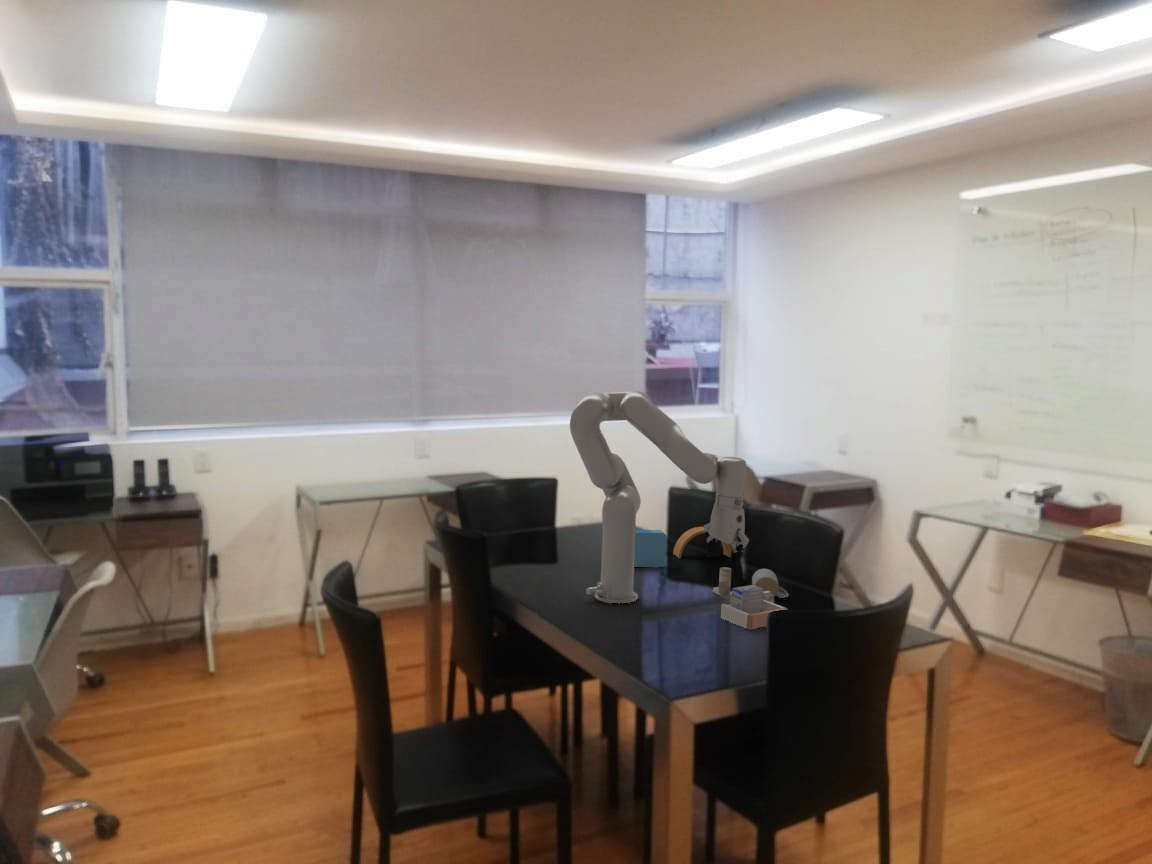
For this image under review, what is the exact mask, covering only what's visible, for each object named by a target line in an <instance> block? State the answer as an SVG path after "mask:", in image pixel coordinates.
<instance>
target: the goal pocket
mask: <svg viewBox="0 0 1152 864" xmlns="http://www.w3.org/2000/svg"><path fill="white" fill-rule="evenodd" d="M728 605H729V604H726V603H723V604H721V608H720V619H721V618H722V619H721V620H723V619H724V620H723V621H725V620H727V621H729V622H728V623H730V622H731V623H730V624H732V623H733V624H732V625H734V624H736V625H735V626H737V625H738V626H737V627H739V626H741V627H744V628H747V629H753V628H757V627H762V626H764V625H765V626H766V621H767V616H768V614H769V613H771V612H773V611H779V610H788V611H789V608H787V607H785V606H781V605H779V604H777V603H771V602H769V601H766V600H763V606H762V612H760V613H755V614H748V613H746V612H743V611H741V610H738V609H736V608H733V607H731V606H728ZM727 621H726V622H727ZM741 627H740V628H741ZM744 628H743V629H744Z"/></svg>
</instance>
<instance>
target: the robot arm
mask: <svg viewBox="0 0 1152 864" xmlns="http://www.w3.org/2000/svg"><path fill="white" fill-rule="evenodd" d="M569 421H570V422H569V430H570V434H571V437H572V440H573V442H574V445H575V447H576V449H577V451H578V453H579V456H580V459H581V461H582V463H583V465H584V467H585V469H586V472H587V474H588V476H589V479H590V481H591V482H592V484H593V485H594V486H595V487H596V488H599V489H601V490H602V491H603V494H604V496H605V499H604V500H603V504H602V509H601V510H602V511H601V518H602V519H601V521H602V537H601V538H602V539H601V566H600V568H601V569H600V581H597V582H596V583H597V584H596V585H595V586H592V587H591V586H589V587H586V589H585V593H586V595H594V598H595V599H596V600H597V601H600V602H602V603H606V604H612V603H618V604H617V605H624V604H623V603H628V604H631V603H630V602H633V603H635V602H637V601H638V600H639V594H638V593H637V592H635V591H634V579H635V578H634V576H635V568H634V561H635V535H636V530H637V527H636V524H637V523H636V521H637V514H638V511H639V510H640V507H641V502H642V501H641V496H640V493H639V491H638V489H637V486H636V484H635V482H634V480H633V478H632V476H631V474H630V471H629V469H628V467H627V465H626V463H625V462H624V460H623V459H622V458H621V456H619V455H618V454H616V453H613V452H612V451H611V448H610V447H609V444H608V442H607V440H606V438H605V436H604V434H603V432H602V430H601V426H600V425H601V423H603V422H615V421H616V422H617V421H618V422H620V421H622V422H623V421H627V422H628V423H629V424H630V425H631V426H632V427H634V428H635V429H636V430H637V431H638V432H639V433H641V435H643V436H644V437H645V438H647V439H648V440H649V441H650V442H651V443H652V444H653V445H655V447H656V448H658V449H659V451H660V452H662V454H664V455H665V456H666V457H667V458H668V459H669V460H670V461H671V462H672V463H673V464H674V465H675V466H676V467H677V468H678V469H680V471H682V472H683V473H684V474H685V475H687V477H689V478H690V479H691V480H693V481H695V482H696V483H697V484H702V485H705V484H709V483H712V482H713V481H714V480H717V481H716V482H717V483H716V492H715V499H714V500H715V502H714V504H713V506H712V507H713V508H712V509H711V510H712V511H711V515H710V519H709V521H710V522H709V523H706V524H704V525H703V527H704V530H705V533H704V536H705V538H706V543H707V549H706V557H707V558H711V557H712V558H713V557H714V558H715V557H716V556H717V551H718V541H720V542H721V541H722V542H725V543H728V544H730V547H731V550H732V552H731V557H730V560H729V561H730V562H729V566H731V567H737V566H740V565H741V558H742V557H741V556H742V552H744V550H745V549H746V548H747V546H748V544H749V542H750V539H749V538H748V537H747V535H746V534H745V530H746V525H745V524H746V521H745V520H746V519H745V518H746V517H745V509H744V508H743V506H744V503H745V502H744V491H745V483H746V482H745V481H746V476H747V475H746V473H747V461H746V460H745V459H744V458H740V457H736V456H735V457H734V456H721V455H716V454H713V453H708V452H703V451H701V450H700V449H699V448H698V447H697V446H695V444H693V442H691V441H690V440H689V438H687V436H686V435H685V434H684V432H683V431H682V429H681V427H680V426H679V425H678V423H676V422H675V421H674V420H673V419H672V418H670V416H668V415H667V414H666V413H665V412H664V411H662V410H661V409H660V408H659V407H658V406H656V404H655V403H653V402H652V399H651V398H650V396H649V395H648V394H647V393H646V392H643V391H640V390H639V391H638V390H634V391H621V392H619V391H617V392H597V393H592V394H589V395H586V396H585V397H583V398H582V399H581V400H580V401H579V402H578V403H577V404H576V405H575V408H573V411H572V413H571V414H570V420H569ZM637 599H638V600H637ZM636 600H637V601H636ZM634 601H635V602H634ZM620 603H622V604H620Z"/></svg>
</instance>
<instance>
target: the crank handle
mask: <svg viewBox="0 0 1152 864" xmlns="http://www.w3.org/2000/svg"><path fill="white" fill-rule="evenodd" d="M731 582H732V568H730V567H726V566H725V567H724V566H722V567H720V568H719V579H718V587H719V594H720V595H719V596H720V597H721V598H724V599H726V600H729V601H731V596H732V595H731V594H730V592H731ZM763 600H766V601H769V602H771V603H774V602H775V597H774V595H773V594H771V592H769V591H763ZM774 604H775V603H774ZM727 605H728V606H731V603H730V604H727Z"/></svg>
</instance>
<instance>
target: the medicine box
mask: <svg viewBox="0 0 1152 864" xmlns="http://www.w3.org/2000/svg"><path fill="white" fill-rule="evenodd" d="M763 591H764V589H762V588H760V587H757V586H754V585H752V584H751V585H749V584H748V585H744V586H738V587H732V589H731V592H732V596H731V600H730V604H731V607H733V608H736V609H738V610H741V611H743V612H746V613H748V614H755V613H760V612H762V606H763Z"/></svg>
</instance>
